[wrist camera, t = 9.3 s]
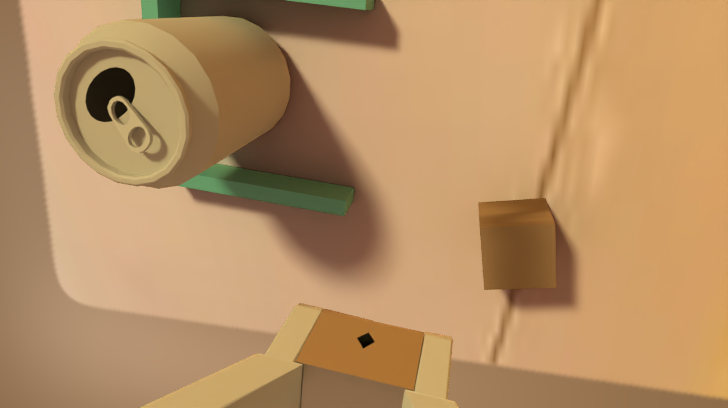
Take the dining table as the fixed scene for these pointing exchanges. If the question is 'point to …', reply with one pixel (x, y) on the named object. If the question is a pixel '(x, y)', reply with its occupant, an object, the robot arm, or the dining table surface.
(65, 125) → the can
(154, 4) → the corral
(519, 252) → the walnut block
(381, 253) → the dining table surface
